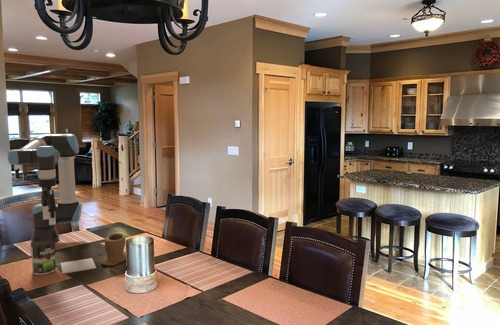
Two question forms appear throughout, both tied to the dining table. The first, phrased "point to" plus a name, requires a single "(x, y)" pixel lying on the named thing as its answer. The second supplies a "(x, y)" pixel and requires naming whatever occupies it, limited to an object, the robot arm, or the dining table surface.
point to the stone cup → (114, 249)
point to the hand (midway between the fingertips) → (49, 221)
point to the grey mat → (77, 265)
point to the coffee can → (43, 257)
